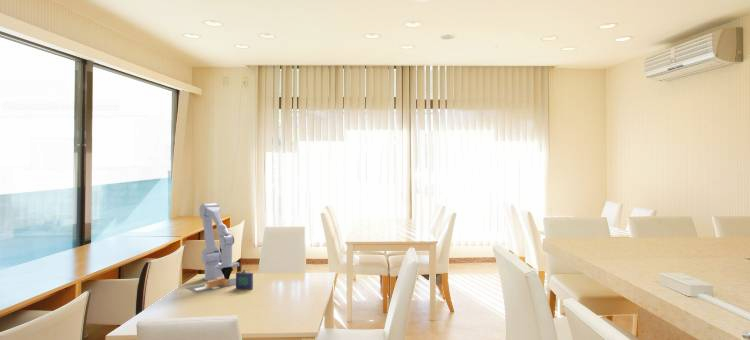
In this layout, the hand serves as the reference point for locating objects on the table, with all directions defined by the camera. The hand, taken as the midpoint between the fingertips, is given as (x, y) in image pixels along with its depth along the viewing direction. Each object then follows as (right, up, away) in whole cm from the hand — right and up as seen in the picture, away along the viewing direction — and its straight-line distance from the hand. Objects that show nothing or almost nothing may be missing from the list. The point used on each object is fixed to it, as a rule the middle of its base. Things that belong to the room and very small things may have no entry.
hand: (226, 280), depth 256 cm
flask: (+13, -2, -10) cm, 16 cm away
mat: (-3, -2, -4) cm, 5 cm away
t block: (-4, -1, -5) cm, 6 cm away
